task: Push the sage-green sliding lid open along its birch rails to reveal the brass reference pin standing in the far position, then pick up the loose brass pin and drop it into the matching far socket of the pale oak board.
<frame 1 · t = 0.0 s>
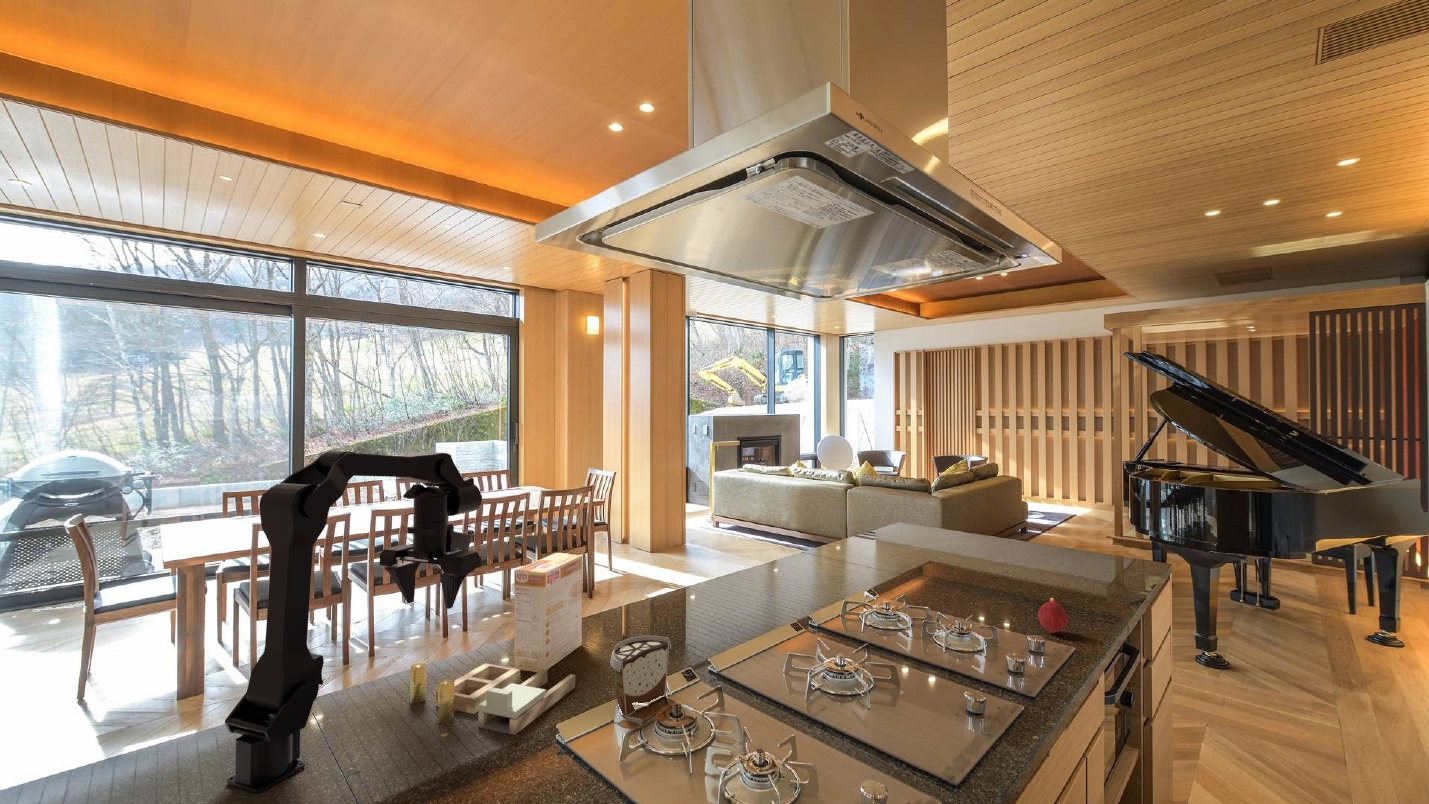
hand: (429, 605, 108), 15 cm above the countertop, fingers open, 9 cm apart
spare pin: (417, 700, 103), on the countertop
onion: (1052, 634, 136), on the countertop
coffeecake box: (549, 657, 122), on the countertop
socket board: (479, 694, 105), on the countertop
food container: (633, 702, 103), on the countertop
pin: (446, 719, 96), on the countertop
lid: (513, 692, 97), point 4 cm above the countertop, slide at 0.0 cm
housing: (530, 705, 101), on the countertop
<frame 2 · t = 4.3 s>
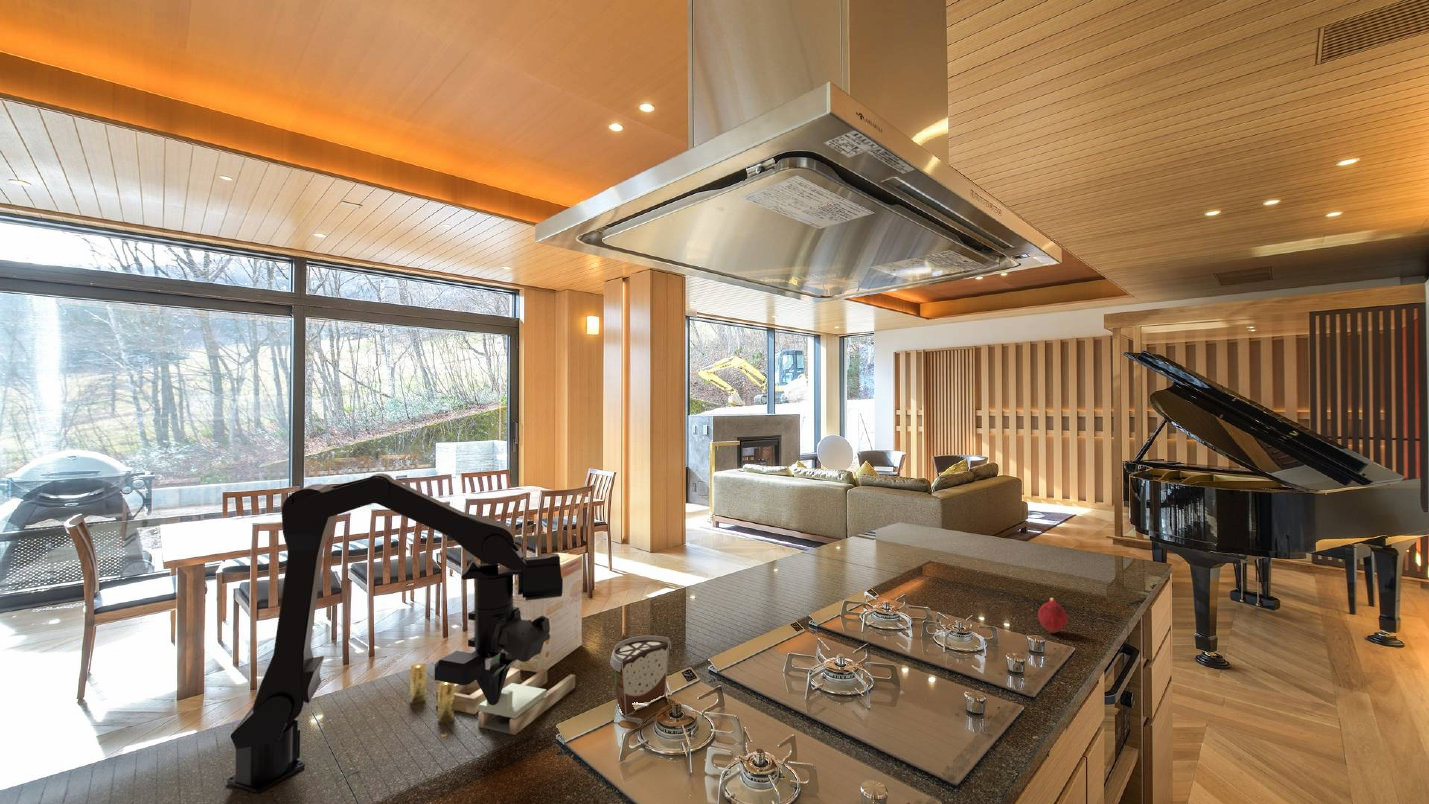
hand: (493, 704, 92), 5 cm above the countertop, fingers closed
lid: (513, 692, 97), point 4 cm above the countertop, slide at 0.1 cm, touching gripper
everything else where it was.
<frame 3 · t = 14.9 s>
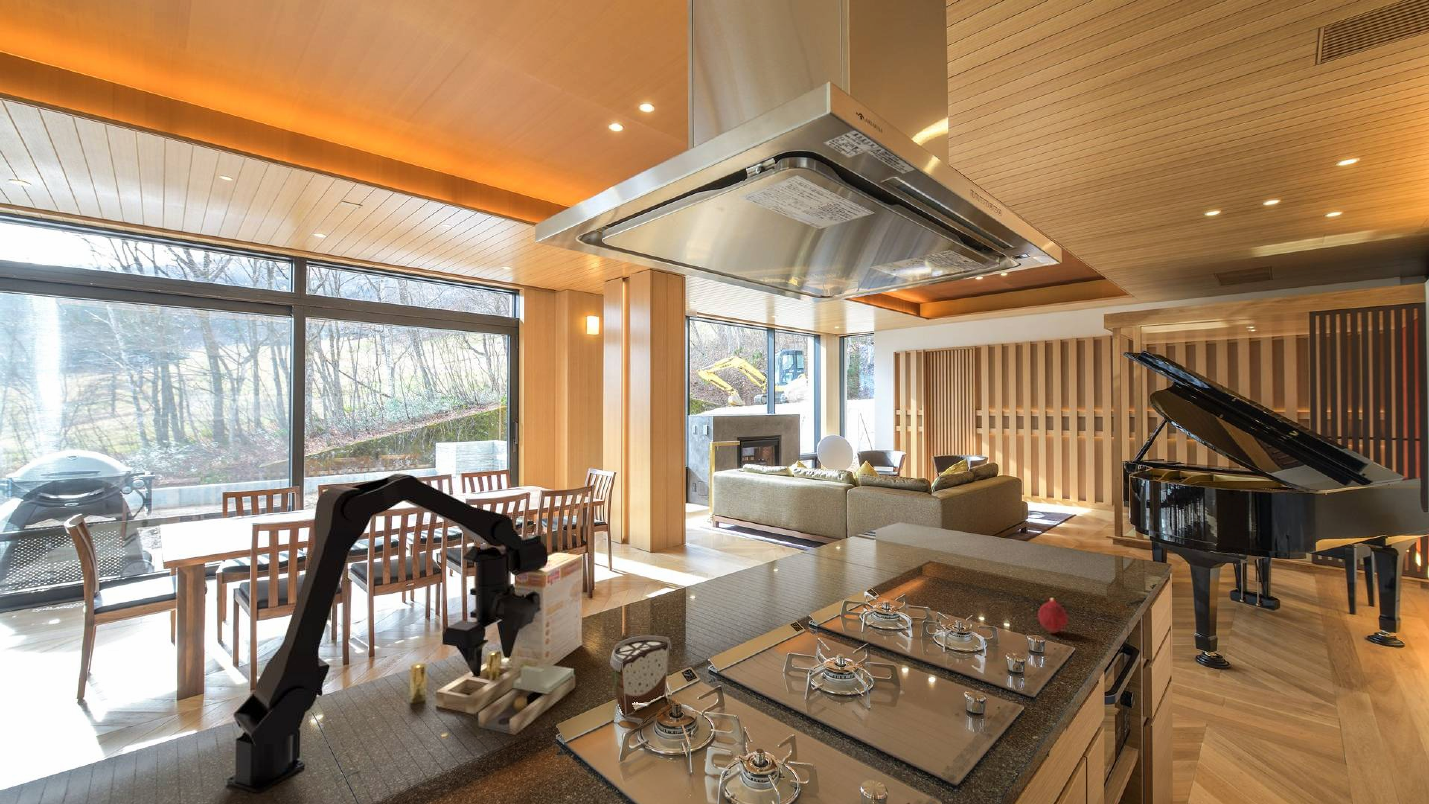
hand: (492, 666, 108), 4 cm above the countertop, fingers open, 8 cm apart
coffeecake box: (549, 657, 122), on the countertop, touching arm, gripper
pin: (493, 686, 108), resting in socket board
lid: (544, 670, 105), point 4 cm above the countertop, slide at 8.5 cm
everything else where it was.
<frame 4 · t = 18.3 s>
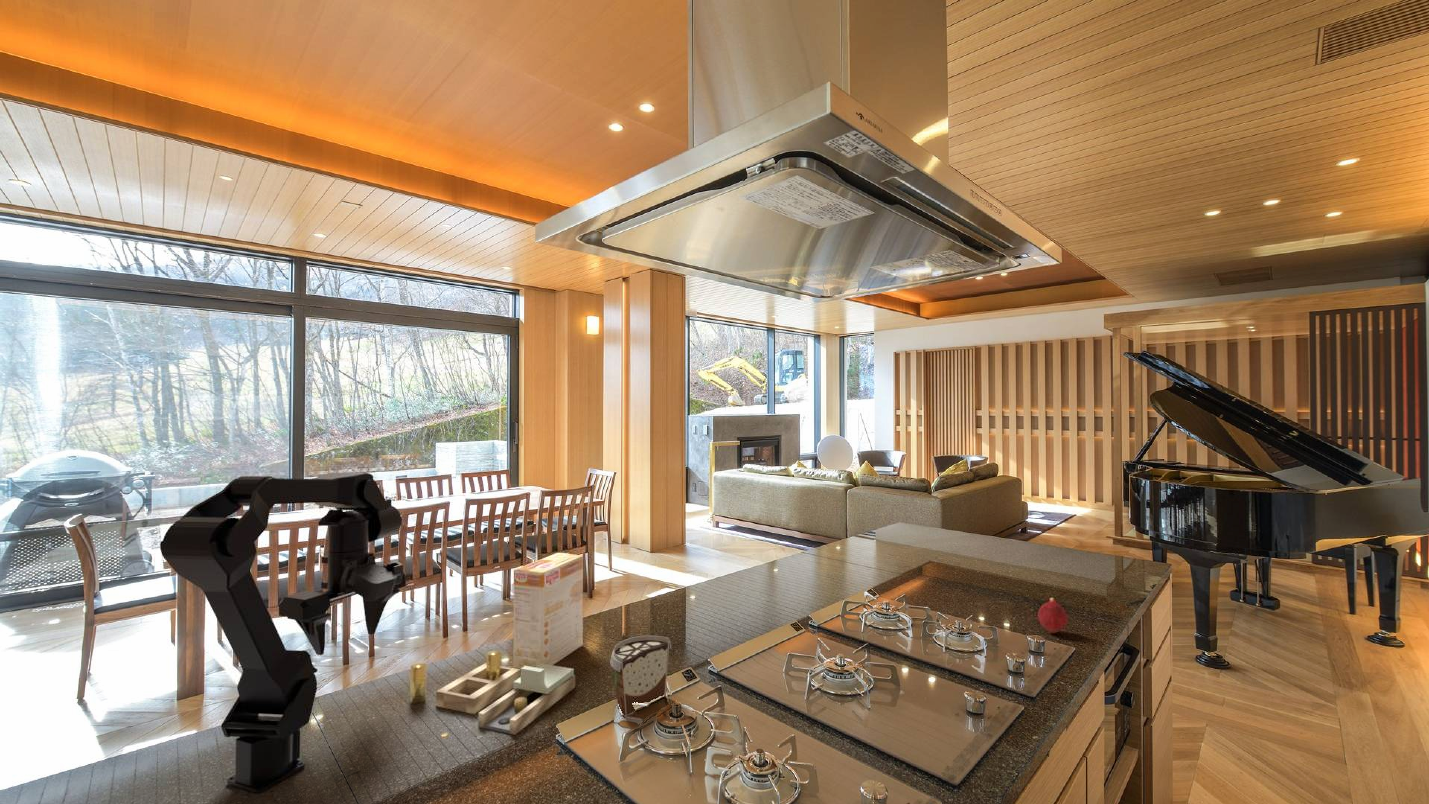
hand: (346, 643, 97), 12 cm above the countertop, fingers open, 9 cm apart
coffeecake box: (549, 657, 122), on the countertop
everything else where it was.
at the end: lid slide at 8.5 cm; pin 0.4 cm from the target spot on the socket board, point 0.0 cm above the socket board's base; the gripper is holding nothing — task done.
